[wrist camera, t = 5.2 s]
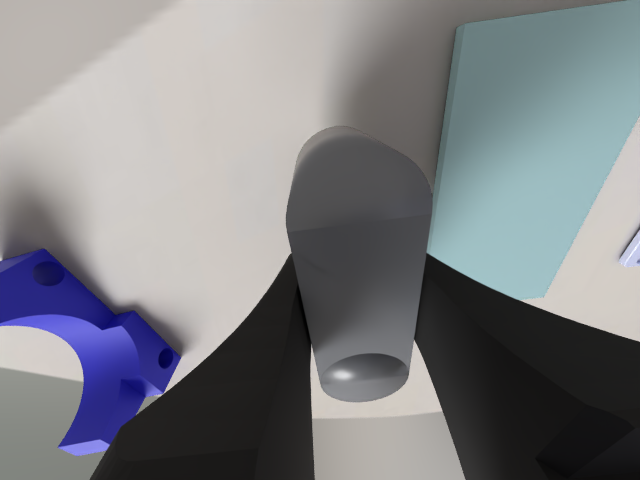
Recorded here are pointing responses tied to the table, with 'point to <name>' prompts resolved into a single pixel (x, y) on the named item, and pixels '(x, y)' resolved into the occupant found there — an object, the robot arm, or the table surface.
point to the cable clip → (88, 345)
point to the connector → (359, 259)
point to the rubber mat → (531, 139)
